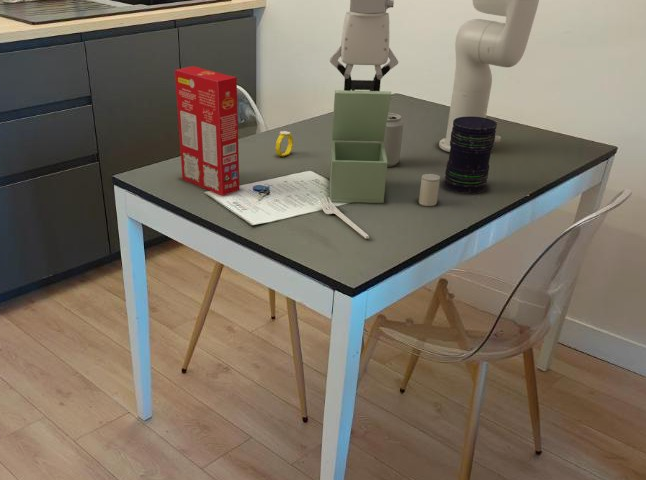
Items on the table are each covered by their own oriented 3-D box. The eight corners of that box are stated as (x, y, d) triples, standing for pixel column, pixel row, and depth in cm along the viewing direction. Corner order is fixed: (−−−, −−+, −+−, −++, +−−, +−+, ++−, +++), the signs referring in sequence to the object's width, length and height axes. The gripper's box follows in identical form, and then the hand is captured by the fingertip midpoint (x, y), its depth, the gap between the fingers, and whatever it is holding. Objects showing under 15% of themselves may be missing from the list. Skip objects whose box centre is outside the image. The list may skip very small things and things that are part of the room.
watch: (281, 159, 182) (282, 136, 178) (273, 157, 183) (273, 134, 179) (295, 153, 186) (295, 130, 182) (286, 151, 187) (287, 128, 183)
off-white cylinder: (435, 199, 160) (439, 174, 156) (437, 206, 156) (441, 180, 153) (417, 199, 160) (420, 173, 156) (419, 205, 156) (422, 179, 153)
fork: (360, 241, 141) (361, 233, 140) (316, 206, 156) (316, 198, 155) (374, 239, 142) (375, 230, 141) (329, 204, 157) (330, 195, 156)
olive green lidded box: (383, 203, 158) (387, 162, 152) (329, 201, 158) (331, 161, 153) (379, 180, 169) (383, 142, 164) (329, 179, 170) (331, 141, 164)
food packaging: (239, 189, 164) (236, 77, 149) (222, 195, 161) (217, 81, 146) (199, 173, 172) (193, 66, 158) (182, 179, 169) (174, 69, 155)
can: (398, 169, 176) (403, 120, 169) (368, 166, 177) (372, 118, 170) (400, 159, 182) (405, 112, 175) (371, 157, 183) (375, 110, 176)
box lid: (391, 94, 150) (391, 74, 152) (334, 92, 150) (335, 73, 153) (383, 141, 163) (383, 123, 166) (331, 140, 164) (332, 121, 166)
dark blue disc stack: (435, 182, 169) (444, 118, 160) (469, 176, 172) (479, 114, 163) (459, 196, 161) (470, 131, 153) (494, 190, 164) (506, 126, 156)
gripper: (407, 4, 148) (398, 93, 159) (327, 2, 149) (322, 91, 159) (411, 9, 142) (401, 101, 153) (327, 8, 143) (323, 100, 153)
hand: (361, 95), depth 156 cm, fingers closed on box lid, 5 cm apart
